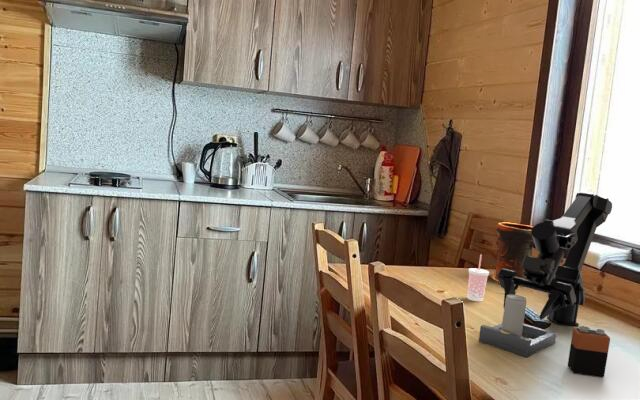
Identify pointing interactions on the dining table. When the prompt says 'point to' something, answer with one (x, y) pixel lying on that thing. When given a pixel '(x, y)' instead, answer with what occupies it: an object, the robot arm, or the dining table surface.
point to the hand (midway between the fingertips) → (522, 313)
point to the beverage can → (514, 314)
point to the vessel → (513, 247)
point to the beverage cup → (477, 283)
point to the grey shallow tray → (517, 339)
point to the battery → (588, 351)
